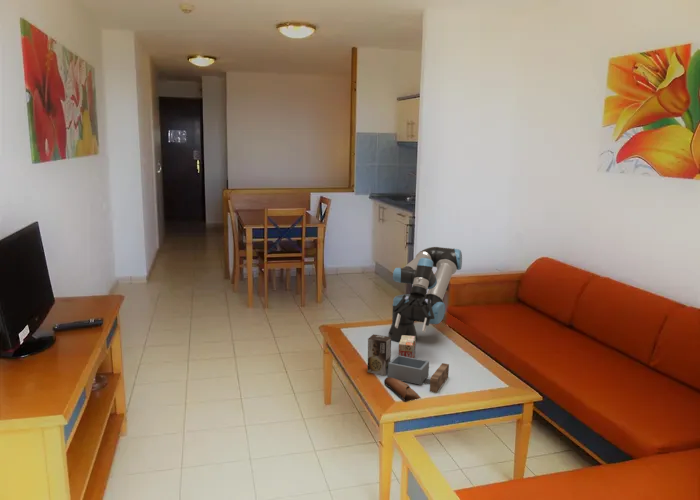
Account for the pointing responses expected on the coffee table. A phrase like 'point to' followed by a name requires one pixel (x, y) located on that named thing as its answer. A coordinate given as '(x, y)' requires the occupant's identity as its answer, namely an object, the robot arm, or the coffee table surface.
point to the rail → (426, 381)
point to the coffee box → (379, 354)
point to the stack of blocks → (407, 346)
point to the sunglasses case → (401, 389)
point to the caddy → (408, 369)
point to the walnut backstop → (439, 377)
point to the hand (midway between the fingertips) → (409, 329)
